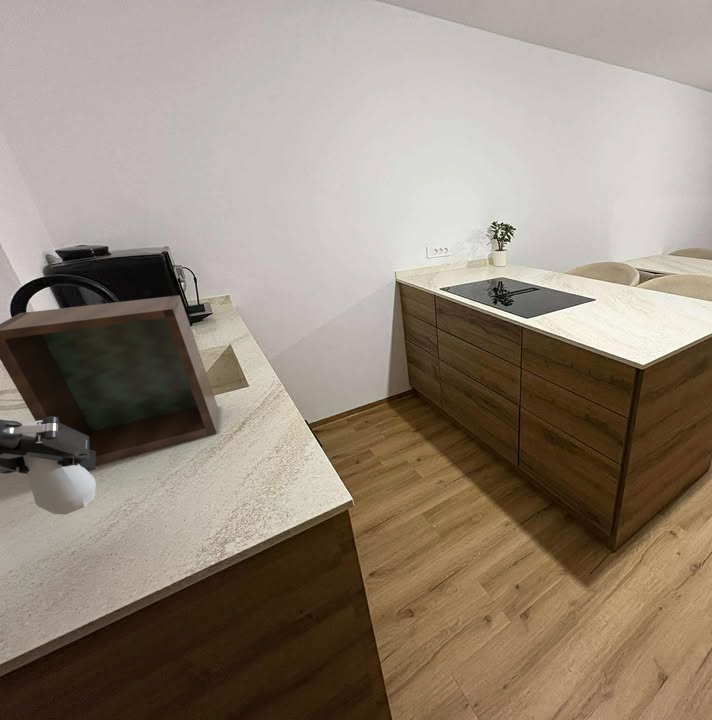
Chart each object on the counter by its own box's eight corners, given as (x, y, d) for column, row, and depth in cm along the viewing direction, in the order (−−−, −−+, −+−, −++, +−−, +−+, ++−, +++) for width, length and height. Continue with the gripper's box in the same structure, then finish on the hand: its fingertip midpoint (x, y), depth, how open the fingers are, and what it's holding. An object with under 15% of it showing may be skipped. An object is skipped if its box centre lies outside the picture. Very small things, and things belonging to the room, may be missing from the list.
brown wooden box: (65, 474, 71) (-16, 332, 60) (86, 439, 81) (19, 313, 70) (216, 434, 83) (172, 308, 71) (218, 408, 93) (179, 295, 81)
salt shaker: (34, 514, 51) (-18, 434, 46) (85, 485, 56) (43, 411, 51) (61, 524, 49) (11, 443, 44) (112, 493, 54) (72, 417, 49)
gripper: (-253, 496, 30) (-4, 508, 50) (24, 444, 36) (145, 474, 56) (-227, 407, 32) (1, 454, 52) (29, 372, 38) (143, 426, 59)
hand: (75, 464), depth 54 cm, fingers closed on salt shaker, 3 cm apart
